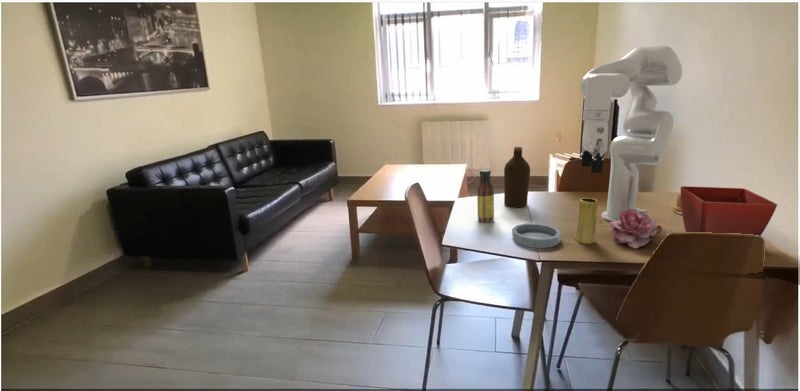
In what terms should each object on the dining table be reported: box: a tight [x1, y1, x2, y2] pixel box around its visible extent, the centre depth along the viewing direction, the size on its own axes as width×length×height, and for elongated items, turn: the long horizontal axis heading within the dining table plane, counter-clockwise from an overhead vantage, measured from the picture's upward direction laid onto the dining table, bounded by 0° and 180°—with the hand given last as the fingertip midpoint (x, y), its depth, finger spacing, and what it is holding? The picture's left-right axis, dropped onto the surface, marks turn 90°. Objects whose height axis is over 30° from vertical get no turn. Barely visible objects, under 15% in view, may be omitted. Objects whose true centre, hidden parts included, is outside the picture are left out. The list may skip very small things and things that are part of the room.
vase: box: [575, 197, 598, 245], centre depth 145 cm, size 6×6×14 cm
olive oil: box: [503, 146, 531, 209], centre depth 184 cm, size 11×11×25 cm
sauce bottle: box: [476, 168, 495, 223], centre depth 167 cm, size 7×6×20 cm
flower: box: [608, 209, 663, 249], centre depth 144 cm, size 15×15×10 cm
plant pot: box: [680, 185, 778, 237], centre depth 138 cm, size 19×19×17 cm
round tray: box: [511, 222, 562, 249], centre depth 149 cm, size 15×15×3 cm
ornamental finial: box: [672, 193, 682, 212], centre depth 170 cm, size 8×8×8 cm
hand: (591, 169), depth 140 cm, fingers open, 9 cm apart
